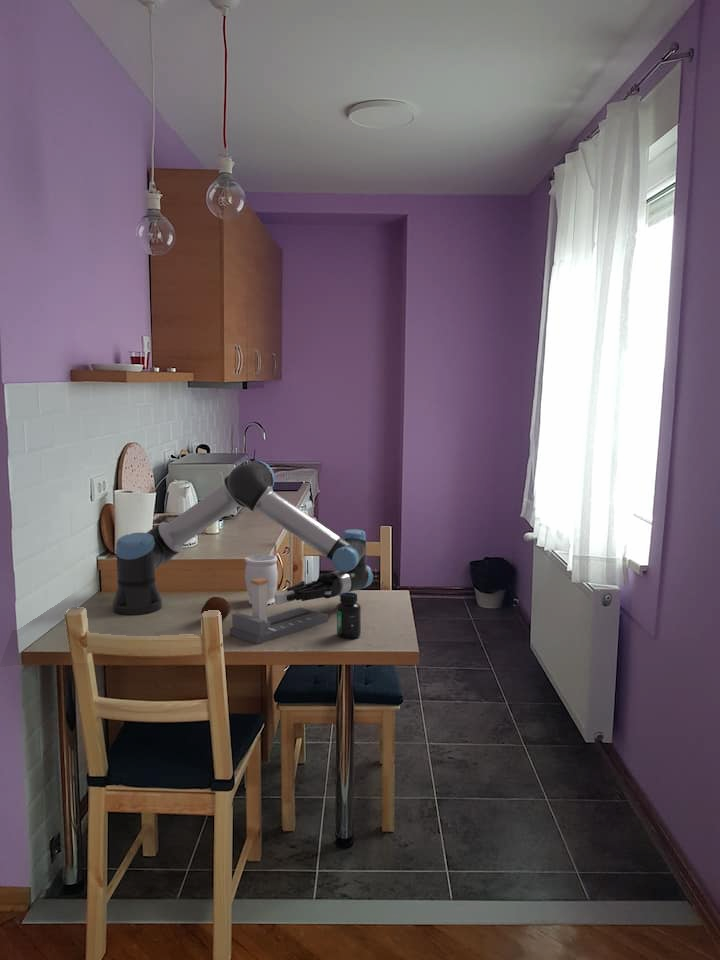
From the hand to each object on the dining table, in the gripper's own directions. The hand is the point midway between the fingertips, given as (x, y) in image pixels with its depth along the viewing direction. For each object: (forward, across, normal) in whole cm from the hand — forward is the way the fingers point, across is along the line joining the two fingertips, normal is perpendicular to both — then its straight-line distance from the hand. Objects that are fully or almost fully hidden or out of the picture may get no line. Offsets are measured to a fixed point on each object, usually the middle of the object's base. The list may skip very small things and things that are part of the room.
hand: (276, 599), depth 227 cm
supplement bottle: (-10, -19, -9) cm, 24 cm away
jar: (-16, +25, -9) cm, 31 cm away
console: (-2, +1, -9) cm, 9 cm away
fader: (+6, 0, -7) cm, 9 cm away
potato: (+7, +19, -9) cm, 23 cm away
